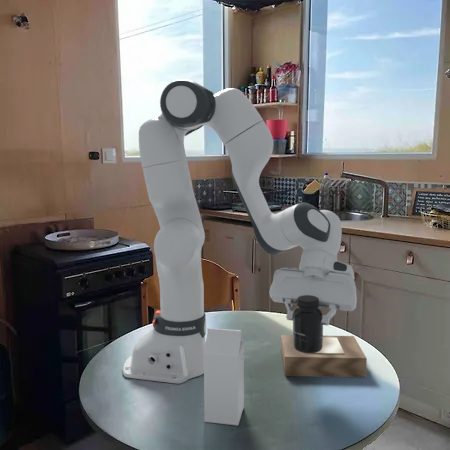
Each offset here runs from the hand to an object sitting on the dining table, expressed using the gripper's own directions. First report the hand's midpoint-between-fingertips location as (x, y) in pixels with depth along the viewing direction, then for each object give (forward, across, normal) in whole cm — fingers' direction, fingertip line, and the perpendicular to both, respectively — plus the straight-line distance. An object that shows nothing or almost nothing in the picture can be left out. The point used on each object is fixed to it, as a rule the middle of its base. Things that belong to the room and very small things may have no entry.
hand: (307, 321), depth 104 cm
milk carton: (+24, -14, 0) cm, 27 cm away
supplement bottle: (+4, 0, +5) cm, 7 cm away
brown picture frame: (+1, 0, +23) cm, 23 cm away
